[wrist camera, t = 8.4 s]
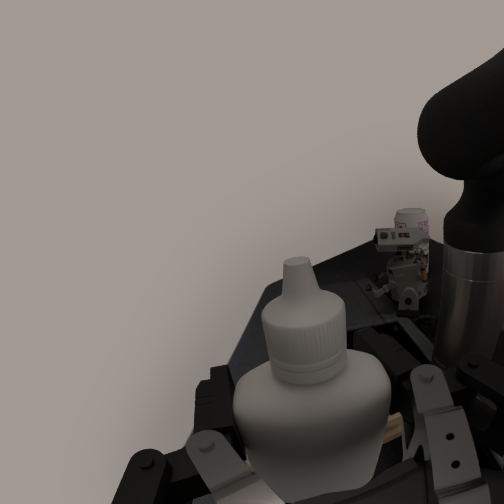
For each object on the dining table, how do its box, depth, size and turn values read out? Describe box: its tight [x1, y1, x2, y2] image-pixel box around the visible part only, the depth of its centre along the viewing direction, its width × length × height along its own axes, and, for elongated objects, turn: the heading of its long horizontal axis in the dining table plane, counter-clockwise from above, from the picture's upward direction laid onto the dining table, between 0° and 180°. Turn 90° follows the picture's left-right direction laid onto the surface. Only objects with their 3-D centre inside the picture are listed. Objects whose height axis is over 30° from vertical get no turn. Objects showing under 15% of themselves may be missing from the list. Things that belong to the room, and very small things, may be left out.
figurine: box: [366, 226, 430, 317], centre depth 45 cm, size 9×12×15 cm
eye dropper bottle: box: [233, 257, 391, 503], centre depth 9 cm, size 4×6×12 cm
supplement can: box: [394, 208, 429, 273], centre depth 57 cm, size 8×8×15 cm
